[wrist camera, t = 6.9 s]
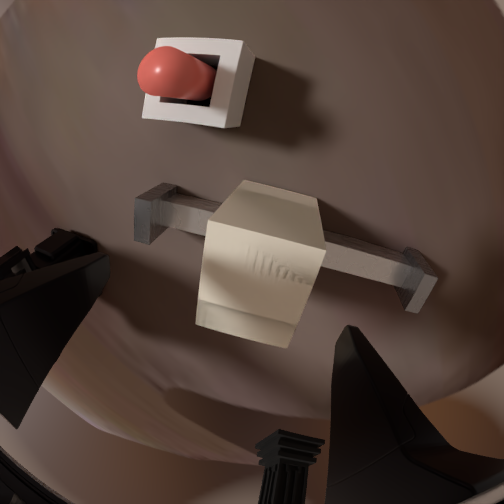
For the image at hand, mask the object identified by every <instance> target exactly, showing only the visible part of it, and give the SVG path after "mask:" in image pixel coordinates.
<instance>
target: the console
mask: <svg viewBox="0 0 504 504" xmlns="http://www.w3.org/2000/svg"><path fill="white" fill-rule="evenodd" d="M162 46H171V47H174V48H177V49H179V50H181V51H183V52H185V53H187V54H189V55H191V56H193V57H195V58H197V59H199V60H201V61H202V62H204V63H206V64H208V65H212V66H218V69H217V73H216V78H215V83H214V87H213V92H212V97H211V102H210V107H205V106H197V105H188V104H187V99H179V98H171V97H161V96H152V95H149V94H147V93H146V95H145V101H144V107H143V114H142V118H148V119H159V120H169V121H178V122H186V123H194V124H201V125H207V126H214V127H220V128H231V127H240V125H241V120H242V115H243V110H244V106H245V101H246V96H247V92H248V87H249V83H250V78H251V74H252V69H253V65H254V61H255V56H254V54H253V53H252V52H251V50H250V49H249V48H248V46H247V45H246V44H245V42H244V41H240V40H230V39H216V38H157V42H156V46H155V49H156V48H158V47H162Z"/></svg>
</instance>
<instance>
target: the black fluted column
mask: <svg viewBox="0 0 504 504" xmlns="http://www.w3.org/2000/svg"><path fill="white" fill-rule="evenodd" d="M324 444H325V440H323V439H318V438H313V437H308V436H304V435H300V434H296V433H292V432H288V431H284V430H280V429H278V430H277V431H275V432H274V433H272V434H271V435H269V436H268V437H266V438H265V439H263V440H262V441H260V442H259V443H257V444H256V446H255V448H256V449H260V450H261V451H259V452H257V456H258V457H262V458H263V459H261V460H259V465H262V466H265V470H264V475H263V480H262V486H261V491H260V496H259V501H258V504H305V497H306V488H307V477H308V466H309V465H312V464H314V463H316V458H313V457H314V456H316V455H318V454H320V453H321V449H319V448H318V447H320V446H322V445H324Z"/></svg>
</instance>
